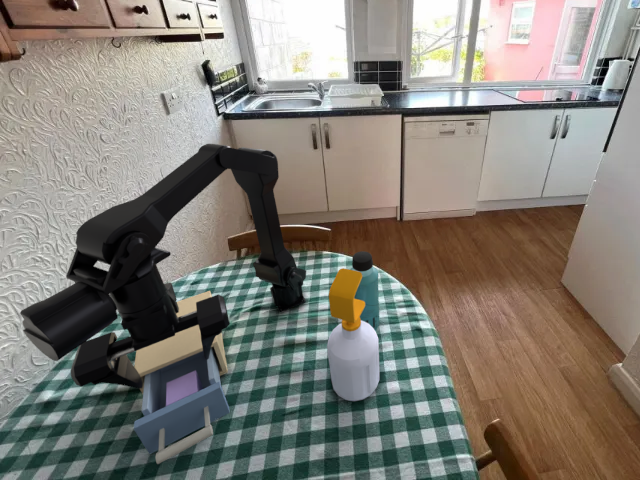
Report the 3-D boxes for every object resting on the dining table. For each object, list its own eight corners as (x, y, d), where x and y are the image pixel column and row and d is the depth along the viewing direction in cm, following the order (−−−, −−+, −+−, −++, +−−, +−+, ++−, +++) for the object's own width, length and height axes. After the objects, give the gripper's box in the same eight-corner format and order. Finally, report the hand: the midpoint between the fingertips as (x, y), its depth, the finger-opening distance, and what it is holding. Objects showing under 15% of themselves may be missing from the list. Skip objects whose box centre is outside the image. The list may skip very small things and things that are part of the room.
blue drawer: (233, 439, 49) (223, 413, 47) (147, 488, 44) (129, 462, 41) (220, 349, 64) (212, 325, 61) (154, 377, 59) (141, 352, 56)
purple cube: (202, 386, 56) (196, 369, 54) (204, 407, 53) (197, 391, 51) (174, 399, 54) (166, 382, 52) (174, 422, 51) (165, 406, 49)
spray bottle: (385, 363, 62) (384, 264, 51) (369, 409, 54) (362, 303, 44) (344, 351, 64) (335, 254, 54) (323, 393, 57) (306, 289, 46)
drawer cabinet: (228, 372, 61) (217, 341, 57) (150, 408, 55) (132, 376, 51) (219, 318, 73) (210, 290, 69) (154, 343, 67) (141, 313, 63)
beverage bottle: (366, 312, 74) (363, 242, 65) (386, 329, 69) (385, 255, 61) (345, 328, 70) (338, 255, 61) (364, 347, 65) (360, 271, 57)
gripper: (210, 248, 55) (230, 314, 61) (69, 289, 46) (111, 360, 52) (217, 286, 46) (240, 357, 53) (45, 344, 37) (98, 421, 44)
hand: (175, 370), depth 51 cm, fingers open, 9 cm apart
